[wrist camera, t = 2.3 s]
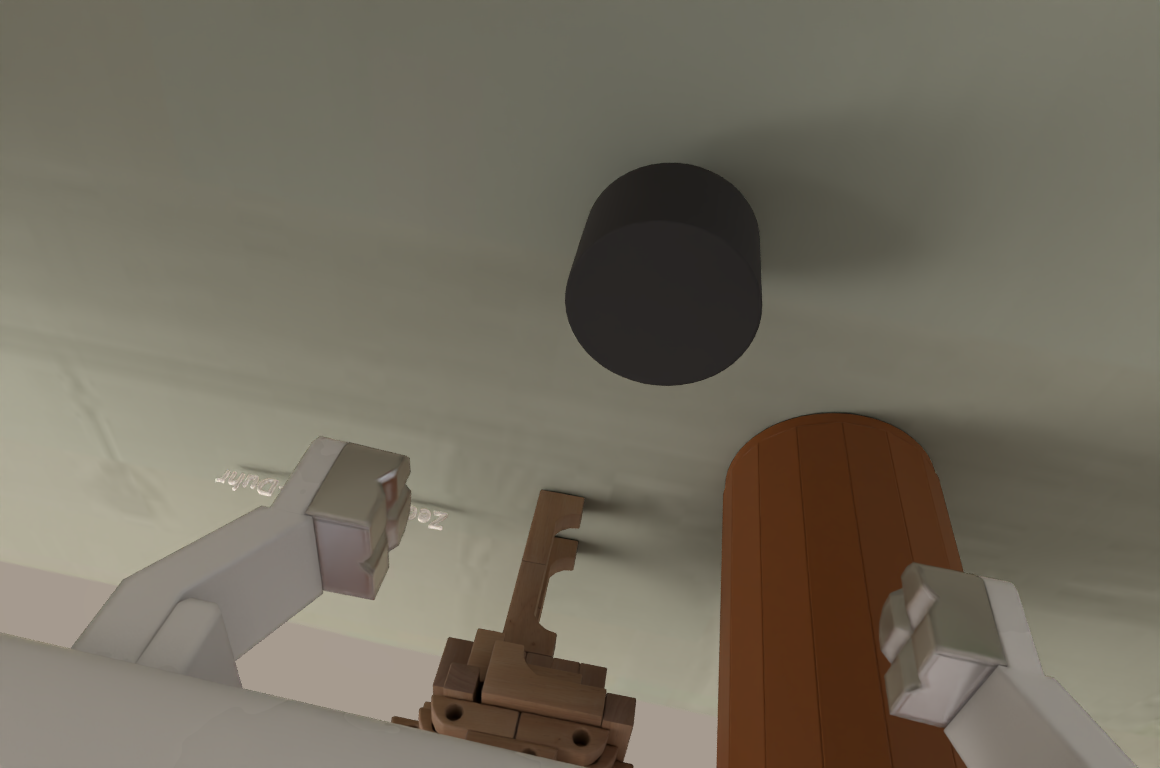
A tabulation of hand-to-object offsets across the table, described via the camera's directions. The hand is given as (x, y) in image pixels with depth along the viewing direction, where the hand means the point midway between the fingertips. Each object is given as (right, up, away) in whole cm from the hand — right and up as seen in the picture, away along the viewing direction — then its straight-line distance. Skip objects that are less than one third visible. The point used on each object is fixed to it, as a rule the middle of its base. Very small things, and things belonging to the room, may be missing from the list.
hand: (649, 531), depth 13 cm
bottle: (+7, -1, +14) cm, 16 cm away
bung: (+1, +7, +9) cm, 11 cm away
